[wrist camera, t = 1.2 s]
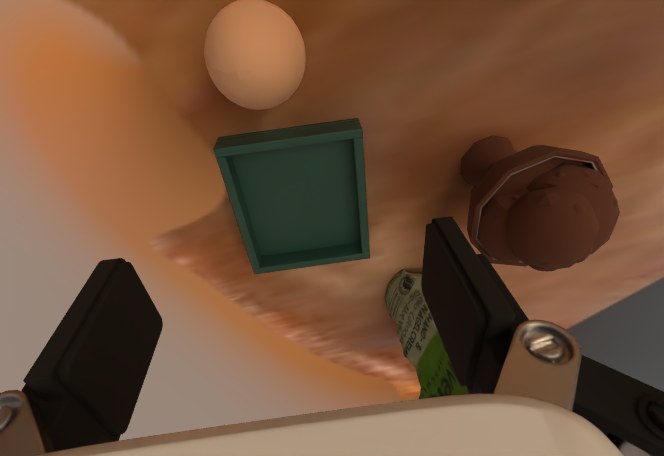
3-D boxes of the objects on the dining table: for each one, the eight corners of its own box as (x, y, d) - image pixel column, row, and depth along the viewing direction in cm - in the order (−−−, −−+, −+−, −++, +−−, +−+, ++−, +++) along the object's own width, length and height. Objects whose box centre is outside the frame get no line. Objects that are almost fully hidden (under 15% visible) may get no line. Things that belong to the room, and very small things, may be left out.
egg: (294, 99, 31) (297, 137, 24) (212, 81, 29) (188, 116, 22) (311, 9, 27) (320, 21, 20) (218, -17, 26) (191, -14, 18)
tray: (218, 137, 32) (213, 149, 30) (357, 117, 32) (362, 128, 30) (256, 258, 41) (254, 274, 39) (366, 243, 41) (370, 258, 39)
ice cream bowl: (432, 215, 40) (494, 326, 27) (438, 115, 33) (522, 204, 21) (528, 200, 40) (632, 305, 27) (553, 98, 33) (704, 176, 21)
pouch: (405, 329, 51) (478, 567, 31) (360, 282, 45) (415, 543, 25) (478, 293, 48) (612, 532, 28) (441, 238, 42) (580, 495, 22)
